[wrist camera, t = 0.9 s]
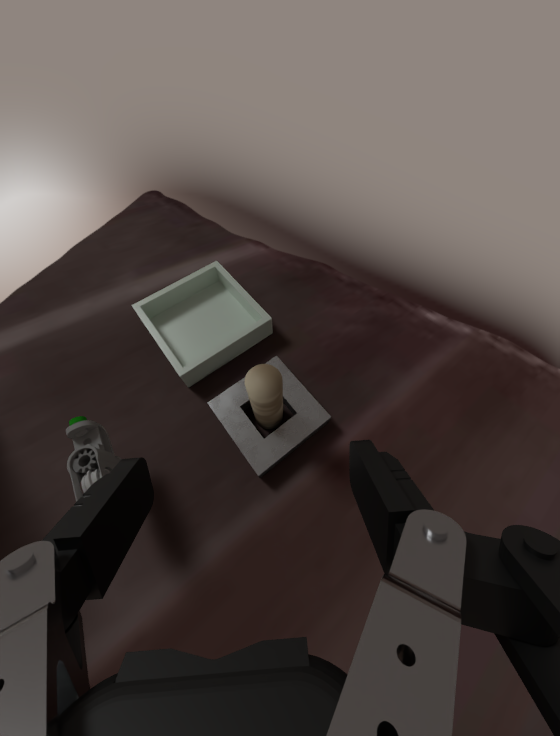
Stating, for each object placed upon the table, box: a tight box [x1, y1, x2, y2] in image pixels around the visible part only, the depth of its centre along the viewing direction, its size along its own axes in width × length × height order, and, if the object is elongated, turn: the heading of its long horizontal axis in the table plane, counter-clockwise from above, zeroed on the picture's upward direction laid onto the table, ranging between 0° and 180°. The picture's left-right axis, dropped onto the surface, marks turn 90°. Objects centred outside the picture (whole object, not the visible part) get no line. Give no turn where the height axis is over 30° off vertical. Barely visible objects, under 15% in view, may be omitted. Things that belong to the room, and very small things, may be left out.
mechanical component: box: [66, 416, 122, 502], centre depth 32 cm, size 3×10×10 cm, turn 31°
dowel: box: [245, 364, 283, 429], centre depth 35 cm, size 4×4×12 cm
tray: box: [132, 261, 273, 388], centre depth 46 cm, size 16×16×4 cm
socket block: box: [208, 356, 331, 478], centre depth 39 cm, size 12×12×2 cm
